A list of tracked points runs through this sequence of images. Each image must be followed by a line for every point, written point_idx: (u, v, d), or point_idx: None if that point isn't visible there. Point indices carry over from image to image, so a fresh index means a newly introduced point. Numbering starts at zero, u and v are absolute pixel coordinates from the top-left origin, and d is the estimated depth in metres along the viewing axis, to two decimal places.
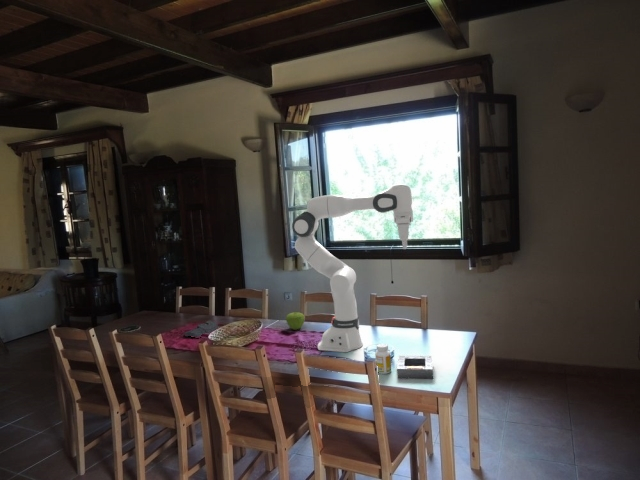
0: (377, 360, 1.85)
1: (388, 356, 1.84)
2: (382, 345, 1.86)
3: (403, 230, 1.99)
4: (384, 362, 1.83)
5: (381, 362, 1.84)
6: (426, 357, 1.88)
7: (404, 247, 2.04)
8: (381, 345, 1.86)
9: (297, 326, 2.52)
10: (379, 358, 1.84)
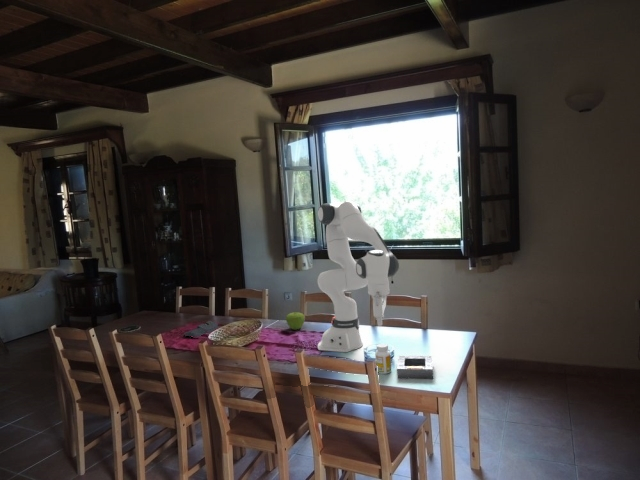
0: (377, 360, 1.85)
1: (388, 356, 1.84)
2: (382, 345, 1.86)
3: None
4: (384, 362, 1.83)
5: (381, 362, 1.84)
6: (426, 357, 1.88)
7: None
8: (381, 345, 1.86)
9: (297, 326, 2.52)
10: (379, 358, 1.84)
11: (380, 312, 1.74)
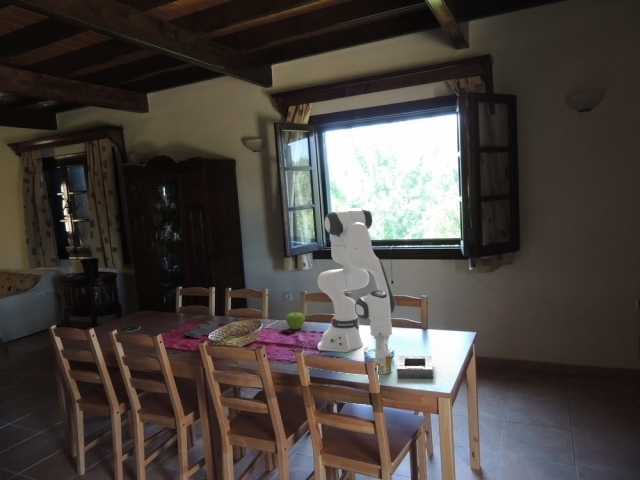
0: (377, 360, 1.85)
1: (388, 356, 1.84)
2: None
3: None
4: None
5: None
6: (426, 357, 1.88)
7: None
8: None
9: (297, 326, 2.52)
10: None
11: (383, 354, 1.76)
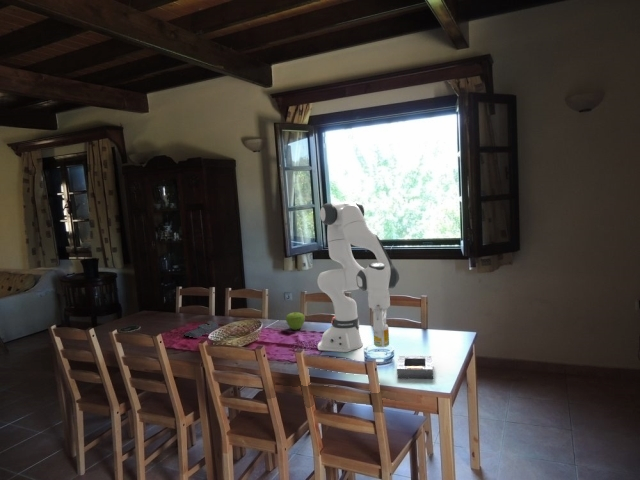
0: (375, 334, 1.84)
1: (386, 330, 1.83)
2: None
3: None
4: (382, 336, 1.83)
5: None
6: (426, 357, 1.88)
7: None
8: None
9: (297, 326, 2.52)
10: None
11: (380, 326, 1.75)
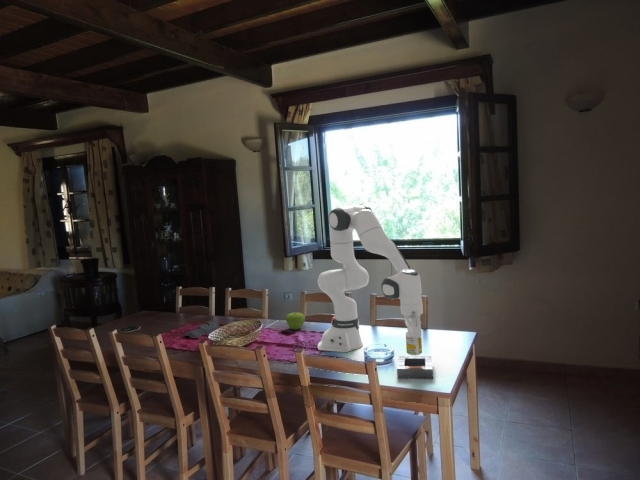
0: (409, 342, 1.80)
1: None
2: None
3: None
4: None
5: None
6: (426, 357, 1.88)
7: None
8: None
9: (297, 326, 2.52)
10: (412, 339, 1.79)
11: (419, 333, 1.72)
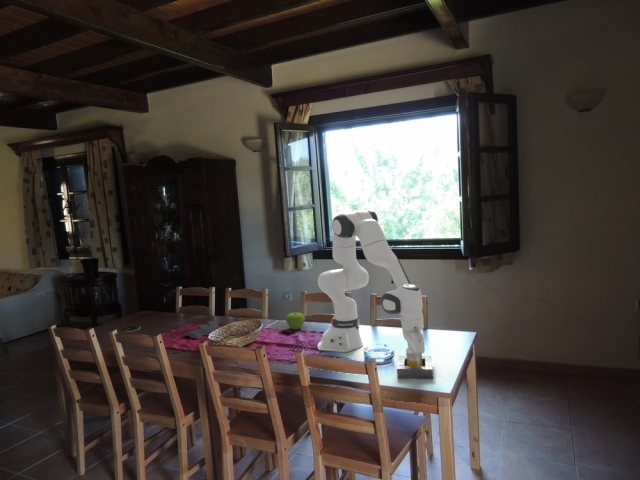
0: (410, 358, 1.81)
1: (421, 353, 1.82)
2: None
3: None
4: None
5: (414, 360, 1.81)
6: (426, 357, 1.88)
7: None
8: None
9: (297, 326, 2.52)
10: (413, 355, 1.80)
11: (423, 348, 1.73)
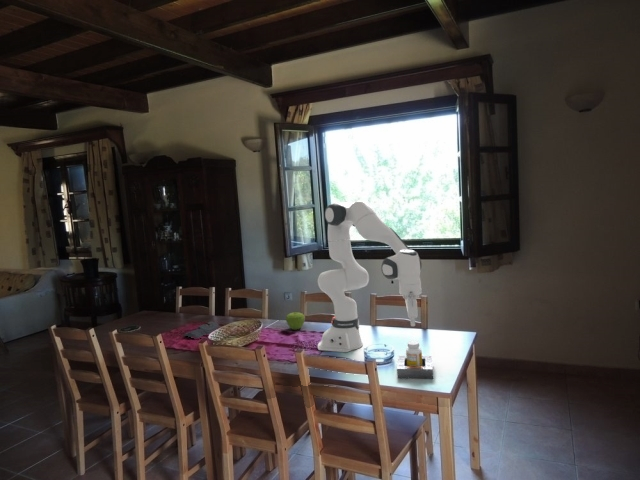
0: (410, 358, 1.81)
1: (421, 353, 1.82)
2: (413, 342, 1.83)
3: None
4: (418, 359, 1.81)
5: (414, 360, 1.81)
6: (426, 357, 1.88)
7: None
8: (412, 342, 1.83)
9: (297, 326, 2.52)
10: (413, 355, 1.80)
11: (415, 312, 1.71)
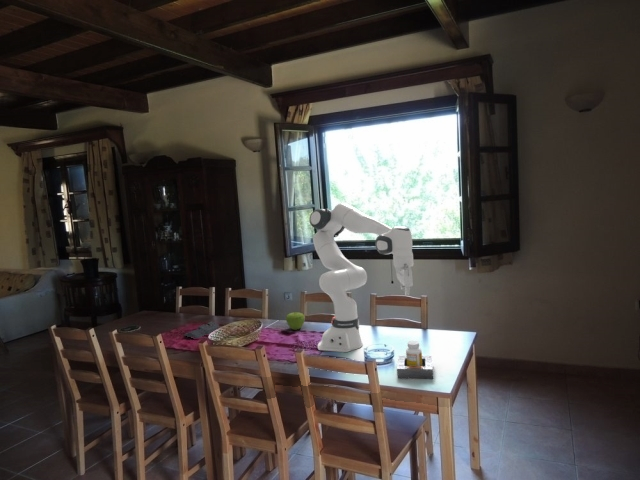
0: (410, 358, 1.81)
1: (421, 353, 1.82)
2: (413, 342, 1.83)
3: None
4: (418, 359, 1.81)
5: (414, 360, 1.81)
6: (426, 357, 1.88)
7: None
8: (412, 342, 1.83)
9: (297, 326, 2.52)
10: (413, 355, 1.80)
11: (411, 281, 1.89)
